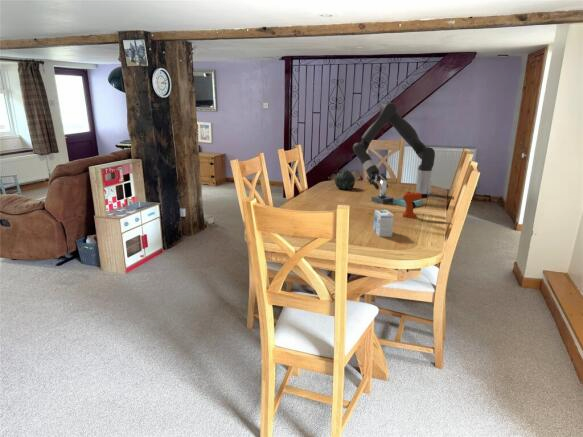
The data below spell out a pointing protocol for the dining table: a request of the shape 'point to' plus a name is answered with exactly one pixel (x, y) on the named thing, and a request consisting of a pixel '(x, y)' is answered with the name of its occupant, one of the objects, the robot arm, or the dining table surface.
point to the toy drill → (412, 203)
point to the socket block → (382, 199)
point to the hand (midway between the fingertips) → (382, 188)
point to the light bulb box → (383, 223)
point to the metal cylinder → (383, 188)
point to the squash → (345, 180)
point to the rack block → (401, 202)
